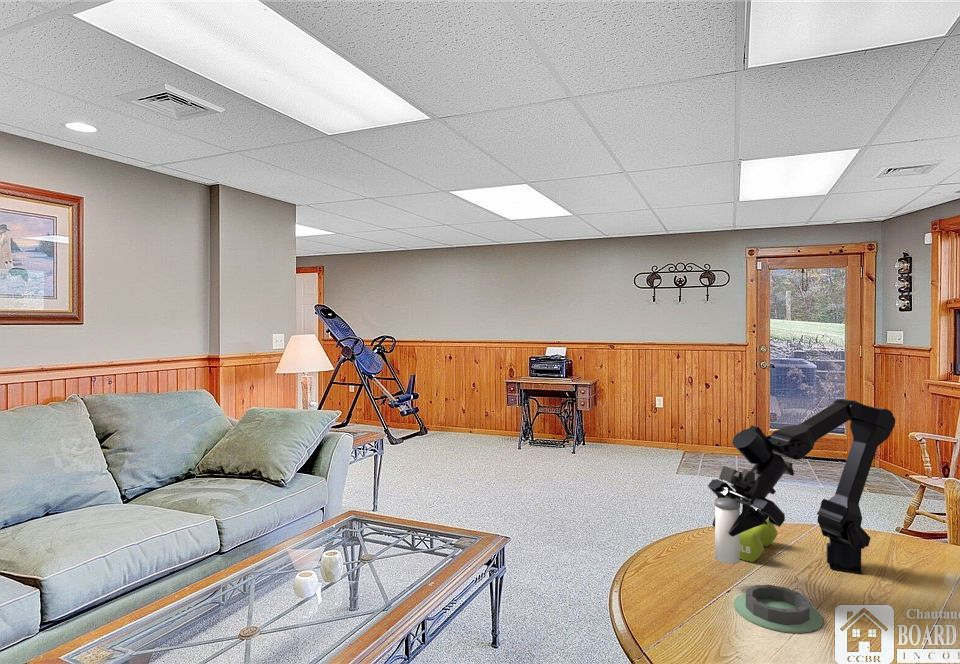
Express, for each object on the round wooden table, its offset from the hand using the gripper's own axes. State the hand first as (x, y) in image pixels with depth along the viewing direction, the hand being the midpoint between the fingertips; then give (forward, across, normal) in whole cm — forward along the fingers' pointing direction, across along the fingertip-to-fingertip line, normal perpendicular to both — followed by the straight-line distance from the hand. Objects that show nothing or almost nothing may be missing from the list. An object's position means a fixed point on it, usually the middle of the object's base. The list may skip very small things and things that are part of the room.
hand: (722, 530), depth 130 cm
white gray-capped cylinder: (+4, 0, +6) cm, 7 cm away
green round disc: (+7, +13, +11) cm, 18 cm away
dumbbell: (-5, -14, +24) cm, 28 cm away
